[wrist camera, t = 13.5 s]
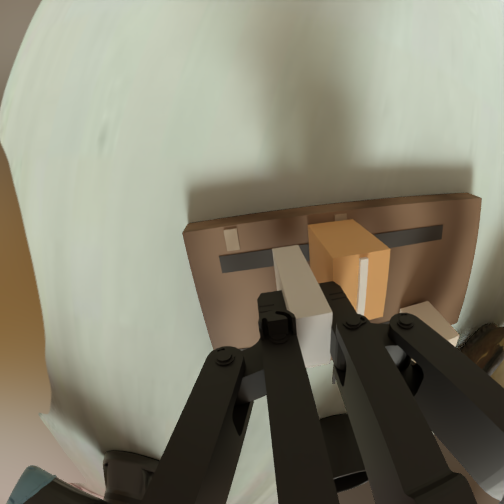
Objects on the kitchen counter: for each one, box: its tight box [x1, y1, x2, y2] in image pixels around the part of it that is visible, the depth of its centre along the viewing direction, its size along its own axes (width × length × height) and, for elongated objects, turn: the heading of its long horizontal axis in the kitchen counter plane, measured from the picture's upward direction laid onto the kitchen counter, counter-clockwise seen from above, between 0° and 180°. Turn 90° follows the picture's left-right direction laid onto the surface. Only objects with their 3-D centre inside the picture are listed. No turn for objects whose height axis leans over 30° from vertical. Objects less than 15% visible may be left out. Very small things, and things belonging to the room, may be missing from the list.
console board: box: [182, 193, 482, 360], centre depth 20 cm, size 24×13×2 cm, turn 98°
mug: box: [319, 414, 369, 493], centre depth 26 cm, size 9×12×9 cm
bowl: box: [461, 323, 504, 388], centre depth 22 cm, size 18×18×10 cm
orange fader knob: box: [308, 219, 390, 320], centre depth 15 cm, size 3×4×5 cm
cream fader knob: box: [399, 301, 460, 363], centre depth 18 cm, size 3×4×5 cm
